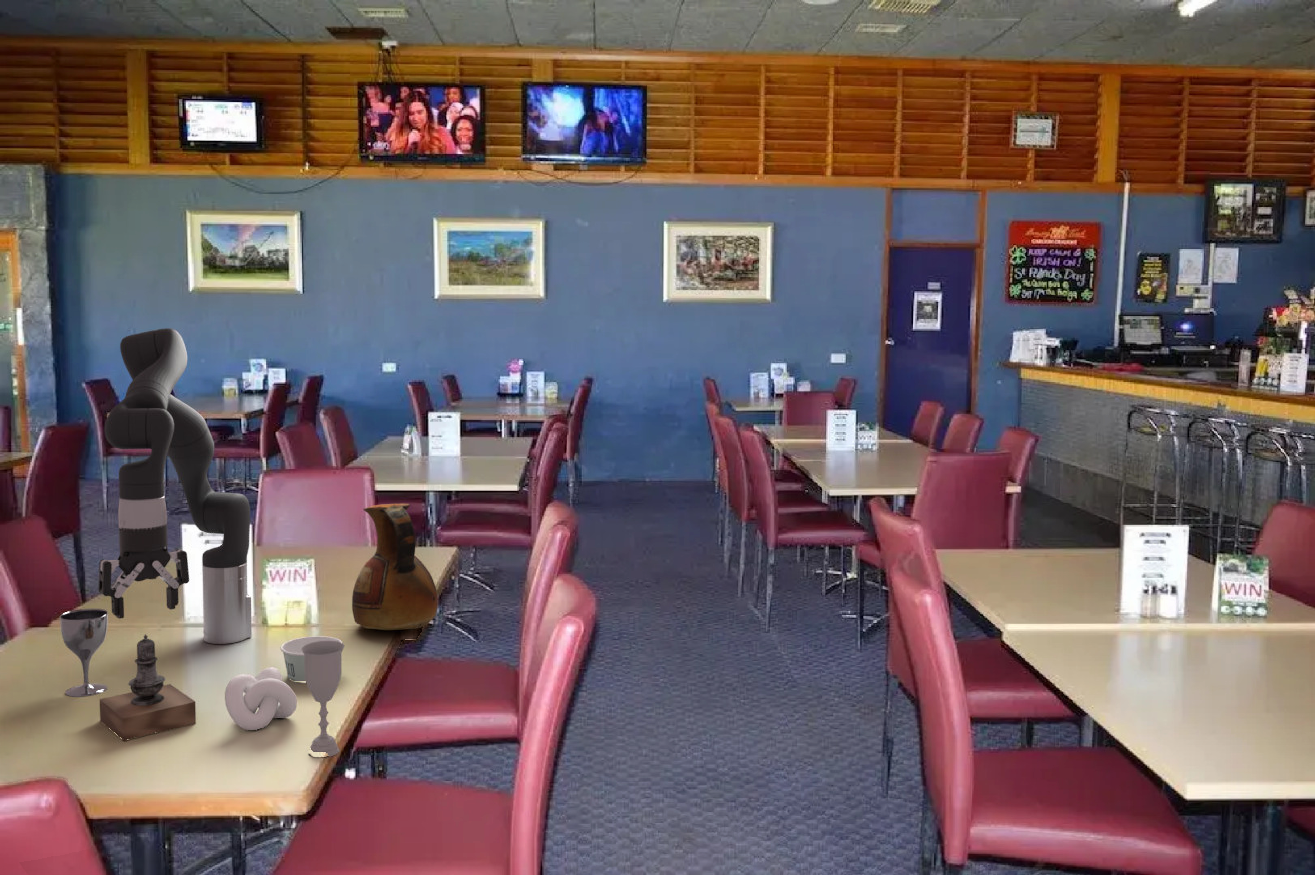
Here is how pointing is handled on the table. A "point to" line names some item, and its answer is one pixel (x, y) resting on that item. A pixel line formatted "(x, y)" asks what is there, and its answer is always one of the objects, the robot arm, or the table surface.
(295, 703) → the white knot sculpture
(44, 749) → the table surface
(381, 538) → the ceramic pitcher
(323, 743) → the chalice
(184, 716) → the walnut base
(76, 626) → the silver goblet
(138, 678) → the salt shaker
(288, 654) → the food container
